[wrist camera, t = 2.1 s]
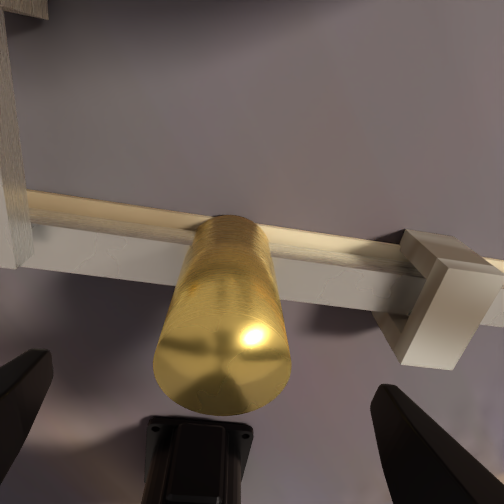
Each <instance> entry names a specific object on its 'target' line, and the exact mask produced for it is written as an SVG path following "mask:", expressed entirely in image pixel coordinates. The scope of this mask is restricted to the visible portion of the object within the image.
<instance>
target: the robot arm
mask: <svg viewBox="0 0 504 504" xmlns="http://www.w3.org/2000/svg"><path fill="white" fill-rule="evenodd" d="M52 379H53V365H52V357H51V352H50V351H49V350H47V349H37V348H33V349H30V350H28V351H27V352H25V353H23V354H22V355H20V356H18V357H17V358H15V359H13V360H12V361H10V362H8V363H7V364H5V365H3V366H2V367H0V485H1V483H2V481H3V479H4V478H5V476H6V474H7V472H8V471H9V469H10V467H11V465H12V463H13V462H14V460H15V458H16V456H17V455H18V453H19V451H20V449H21V448H22V446H23V444H24V442H25V440H26V438H27V436H28V434H29V431H30V429H31V427H32V425H33V423H34V420H35V418H36V416H37V413H38V411H39V409H40V407H41V404H42V402H43V400H44V398H45V395H46V393H47V391H48V389H49V386H50V384H51V382H52ZM370 411H371V416H372V421H373V426H374V431H375V436H376V441H377V445H378V450H379V455H380V460H381V464H382V468H383V472H384V475H385V479H386V482H387V485H388V488H389V492H390V495H391V498H392V501H393V504H504V484H502V483H501V482H500V481H499V480H498V479H497V478H496V477H495V476H494V475H493V474H492V473H491V472H489V471H488V470H487V469H486V468H485V467H484V466H483V465H482V464H481V463H480V462H479V461H477V460H476V459H475V458H474V457H473V456H472V455H471V454H470V453H469V452H468V451H467V450H466V449H464V448H463V447H462V446H461V445H460V444H459V443H458V442H457V441H456V440H455V439H454V438H452V437H451V436H450V435H449V434H448V433H447V432H446V431H445V430H444V429H443V428H442V427H441V426H439V425H438V424H437V423H436V422H435V421H434V420H433V419H432V418H431V417H430V416H429V415H427V414H426V413H425V412H424V411H423V410H422V409H421V408H420V407H419V406H418V405H417V404H416V403H414V402H413V401H412V400H411V399H410V398H409V397H408V396H407V395H406V394H405V393H404V392H402V391H401V390H400V389H399V388H398V387H397V386H395V385H390V384H381V385H380V386H379V387H378V389H377V391H376V393H375V395H374V398H373V400H372V402H371V406H370ZM252 441H253V428H252V427H251V426H248V425H239V424H227V423H215V422H203V421H191V420H180V419H168V418H152V419H150V420H149V423H148V427H147V439H146V459H145V478H144V482H145V489H144V493H143V497H142V501H141V504H241V481H242V478H243V474H244V470H245V466H246V463H247V459H248V455H249V452H250V448H251V444H252Z"/></svg>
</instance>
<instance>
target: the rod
mask: <svg viewBox="0 0 504 504" xmlns="http://www.w3.org/2000/svg"><path fill="white" fill-rule="evenodd" d="M3 11H6V12H11V13H16V14H21V15H26V16H31V17H36V18H41V19H46V20H49V18H48V5H47V0H0V267H1V268H9V269H17V268H18V267H28V268H36V269H44V270H52V271H60V272H68V273H75V274H83V275H91V276H99V277H107V278H115V279H123V280H131V281H139V282H147V283H155V284H163V285H171V286H176V287H175V290H174V293H173V296H172V300H171V303H170V306H169V309H168V313H167V316H166V319H165V322H164V325H163V329H162V332H161V335H160V338H159V341H158V345H157V348H156V351H155V354H154V359H153V371H154V375H155V378H156V381H157V383H158V385H159V386H160V388H161V389H162V390H163V392H164V393H165V394H166V395H167V396H168V397H169V398H170V399H172V400H173V401H174V402H176V403H177V404H179V405H181V406H182V407H184V408H187V409H189V410H191V411H195V412H198V413H202V414H206V415H214V416H232V415H239V414H243V413H248V412H251V411H254V410H256V409H258V408H261V407H263V406H264V405H266V404H268V403H269V402H271V401H272V400H273V399H275V398H276V397H277V396H278V395H279V394H280V393H281V391H282V390H283V389H284V387H285V386H286V384H287V382H288V380H289V377H290V373H291V357H290V352H289V346H288V341H287V335H286V330H285V325H284V319H283V314H282V308H281V303H280V299H282V300H290V301H298V302H306V303H314V304H322V305H330V306H338V307H346V308H354V309H362V310H370V311H378V312H385V313H393V314H401V315H409V316H410V314H411V312H412V310H413V308H414V306H415V304H416V301H417V299H418V297H419V295H420V293H421V291H422V289H423V287H424V285H425V282H426V280H427V279H426V278H425V277H424V276H423V275H422V274H421V273H420V272H419V271H418V270H417V269H416V268H415V266H414V265H413V264H412V263H411V262H404V261H397V260H390V259H383V258H376V257H369V256H362V255H355V254H348V253H341V252H334V251H327V250H320V249H313V248H306V247H299V246H292V245H285V244H278V243H271V242H269V240H268V238H267V236H266V234H265V233H264V231H263V230H262V229H261V228H260V227H259V226H258V225H257V224H255V223H254V222H252V221H251V220H249V219H246V218H244V217H240V216H236V215H223V216H217V217H214V218H212V219H209V220H207V221H206V222H204V223H203V224H201V225H200V226H199V227H198V228H197V229H196V230H195V231H188V230H181V229H174V228H167V227H160V226H153V225H146V224H139V223H132V222H125V221H118V220H111V219H104V218H97V217H90V216H83V215H76V214H70V213H63V212H56V211H49V210H42V209H35V208H29V204H28V197H27V189H26V181H25V174H24V166H23V158H22V151H21V143H20V135H19V128H18V120H17V112H16V104H15V97H14V89H13V81H12V74H11V66H10V58H9V51H8V43H7V35H6V28H5V20H4V12H3ZM480 324H481V325H489V326H497V327H504V284H503V286H502V288H501V289H500V291H499V293H498V295H497V296H496V298H495V300H494V301H493V303H492V305H491V306H490V308H489V310H488V311H487V313H486V315H485V316H484V318H483V320H482V321H481V323H480Z"/></svg>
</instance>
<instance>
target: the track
mask: <svg viewBox="0 0 504 504" xmlns="http://www.w3.org/2000/svg"><path fill="white" fill-rule="evenodd" d="M27 197H28V204H29V208H35V209H42V210H49V211H56V212H63V213H70V214H76V215H83V216H90V217H97V218H104V219H111V220H118V221H125V222H132V223H139V224H146V225H153V226H160V227H167V228H174V229H181V230H188V231H195V230H196V229H197V228H198V227H199V226H200V225H201V224H203V223H204V222H206V221H207V220H209V219H212V218H214V217H210V216H203V215H197V214H190V213H183V212H177V211H170V210H163V209H157V208H150V207H143V206H136V205H130V204H123V203H116V202H110V201H103V200H96V199H89V198H83V197H76V196H69V195H63V194H56V193H49V192H43V191H36V190H29V189H27ZM255 224H257V223H255ZM257 225H258V226H259V227H260V228H261V229H262V230H263V231H264V233H265V234H266V236H267V238H268V240H269V242H271V243H278V244H285V245H292V246H299V247H306V248H313V249H320V250H327V251H334V252H341V253H348V254H355V255H362V256H369V257H376V258H383V259H390V260H397V261H404V262H411V263H412V264H413V265H414V266H415V268H416V269H417V270H418V271H419V272H420V273H421V274H422V275H423V276H424V277H425V278H426V279H427V280H426V282H425V285H424V287H423V289H422V291H421V293H420V295H419V297H418V299H417V301H416V304H415V306H414V308H413V310H412V312H411V314H410V316H409V315H401V314H393V313H385V312H378V311H372V312H371V313H372V315H373V317H374V318H375V320H376V322H377V324H378V326H379V327H380V329H381V331H382V333H383V334H384V336H385V338H386V340H387V341H388V343H389V345H390V347H391V349H392V350H393V352H394V354H395V356H396V357H397V359H398V361H399V363H400V364H401V365H409V366H419V367H428V368H437V369H446V370H453V368H454V367H455V365H456V363H457V361H458V360H459V358H460V356H461V355H462V353H463V351H464V350H465V348H466V346H467V345H468V343H469V341H470V340H471V338H472V336H473V335H474V333H475V331H476V330H477V328H478V326H479V325H480V323H481V321H482V320H483V318H484V316H485V315H486V313H487V311H488V310H489V308H490V306H491V305H492V303H493V301H494V300H495V298H496V296H497V295H498V293H499V291H500V289H501V288H502V286H503V284H504V260H499V259H492V258H485V257H481V256H479V255H478V254H477V253H475V252H474V251H473V250H471V249H470V248H468V247H467V246H466V245H464V244H463V243H462V242H460V241H459V240H458V239H456V238H455V237H453V236H446V235H440V234H433V233H427V232H421V231H414V230H408V229H405V231H404V234H403V236H402V239H401V241H400V244H399V245H398V244H391V243H385V242H378V241H371V240H364V239H358V238H351V237H344V236H338V235H331V234H324V233H318V232H311V231H304V230H297V229H291V228H284V227H277V226H271V225H264V224H257Z"/></svg>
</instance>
